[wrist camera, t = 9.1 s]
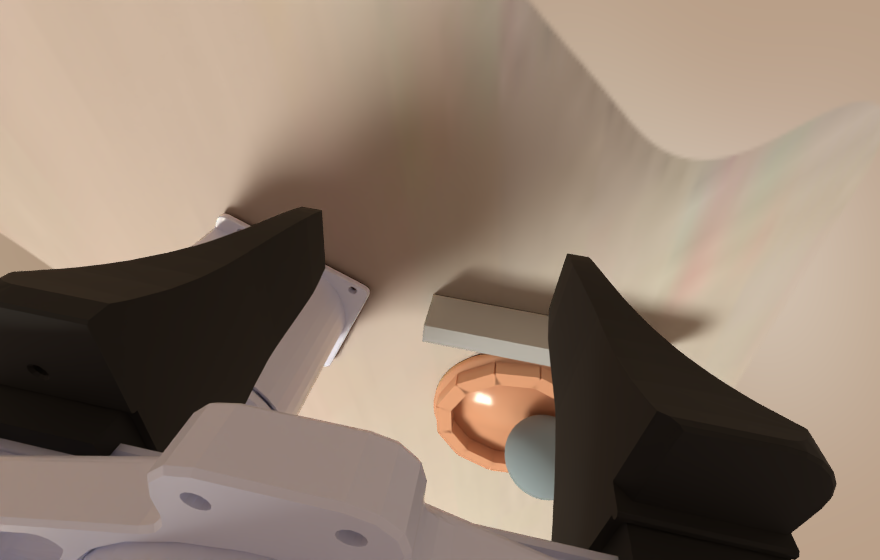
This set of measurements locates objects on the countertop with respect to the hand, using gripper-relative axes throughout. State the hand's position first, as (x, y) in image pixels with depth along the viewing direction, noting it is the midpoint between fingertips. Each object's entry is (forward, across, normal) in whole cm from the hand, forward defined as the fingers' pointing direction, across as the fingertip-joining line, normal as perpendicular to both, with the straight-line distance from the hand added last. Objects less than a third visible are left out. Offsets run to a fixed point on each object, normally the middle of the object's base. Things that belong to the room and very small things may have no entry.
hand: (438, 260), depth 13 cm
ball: (+6, -8, +17) cm, 20 cm away
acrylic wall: (+9, -5, +9) cm, 14 cm away
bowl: (+9, -5, +17) cm, 20 cm away
